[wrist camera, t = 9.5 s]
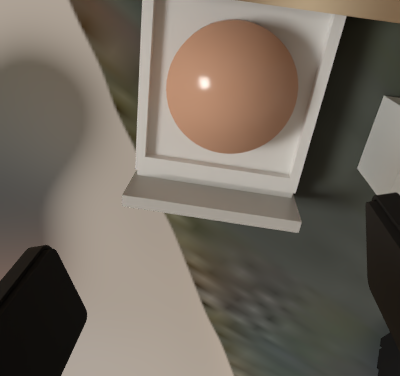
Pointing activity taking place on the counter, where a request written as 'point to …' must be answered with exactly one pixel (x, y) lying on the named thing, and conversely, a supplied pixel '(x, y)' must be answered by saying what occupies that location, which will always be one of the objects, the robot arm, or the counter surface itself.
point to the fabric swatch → (388, 357)
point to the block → (383, 149)
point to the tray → (219, 162)
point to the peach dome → (232, 86)
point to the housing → (344, 7)
